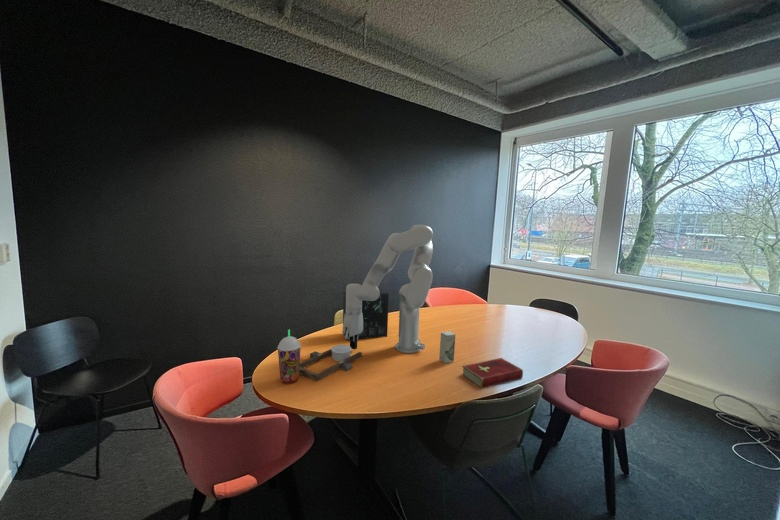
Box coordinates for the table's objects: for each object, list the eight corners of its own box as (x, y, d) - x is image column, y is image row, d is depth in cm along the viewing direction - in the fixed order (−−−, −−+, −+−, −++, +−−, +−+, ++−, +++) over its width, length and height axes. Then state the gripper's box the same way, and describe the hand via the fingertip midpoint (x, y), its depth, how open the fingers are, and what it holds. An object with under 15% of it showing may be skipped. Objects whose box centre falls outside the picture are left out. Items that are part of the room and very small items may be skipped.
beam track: (368, 358, 143) (368, 353, 143) (324, 384, 120) (324, 378, 120) (332, 347, 155) (332, 342, 155) (286, 368, 132) (286, 363, 132)
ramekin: (353, 360, 141) (353, 351, 141) (333, 363, 138) (333, 353, 138) (348, 352, 150) (348, 343, 149) (329, 354, 147) (329, 345, 146)
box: (444, 364, 140) (446, 335, 138) (438, 360, 144) (440, 332, 142) (454, 361, 142) (456, 333, 141) (448, 357, 146) (449, 330, 145)
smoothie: (288, 388, 117) (287, 335, 114) (273, 381, 121) (272, 330, 119) (305, 378, 124) (305, 328, 121) (290, 373, 128) (290, 324, 126)
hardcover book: (522, 379, 129) (523, 369, 129) (481, 389, 121) (482, 378, 120) (500, 366, 140) (501, 357, 140) (461, 374, 131) (462, 365, 131)
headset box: (381, 329, 182) (382, 284, 179) (388, 336, 171) (389, 289, 168) (341, 333, 175) (342, 286, 171) (346, 341, 163) (347, 291, 160)
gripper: (357, 305, 157) (357, 341, 159) (336, 312, 145) (336, 351, 147) (370, 308, 153) (369, 345, 155) (349, 315, 140) (349, 355, 143)
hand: (353, 348), depth 151 cm, fingers closed
